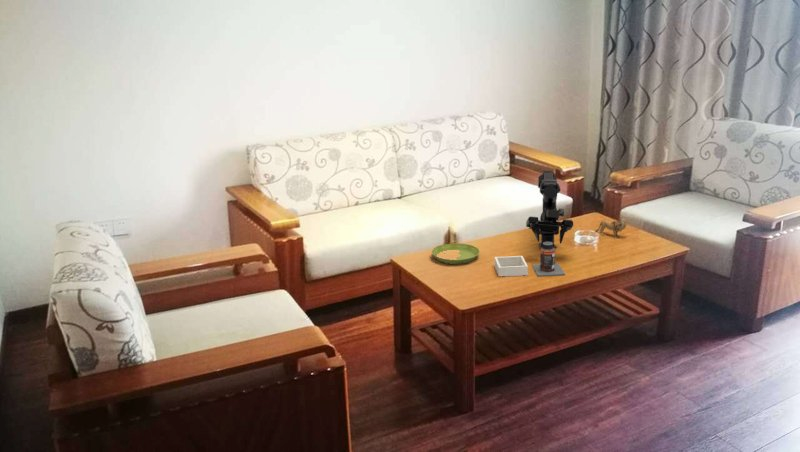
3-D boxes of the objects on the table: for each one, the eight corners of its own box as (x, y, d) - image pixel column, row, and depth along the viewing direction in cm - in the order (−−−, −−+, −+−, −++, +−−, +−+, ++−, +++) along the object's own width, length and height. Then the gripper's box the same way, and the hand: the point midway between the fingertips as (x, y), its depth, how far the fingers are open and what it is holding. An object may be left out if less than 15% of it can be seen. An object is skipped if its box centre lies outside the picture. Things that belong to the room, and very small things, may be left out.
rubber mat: (532, 266, 277) (532, 264, 276) (558, 265, 277) (558, 263, 276) (537, 276, 266) (537, 275, 266) (565, 275, 266) (565, 273, 266)
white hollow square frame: (494, 265, 279) (494, 257, 277) (522, 264, 279) (522, 255, 277) (498, 276, 268) (498, 267, 266) (527, 275, 268) (527, 266, 266)
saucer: (472, 268, 278) (472, 261, 277) (426, 264, 285) (425, 257, 284) (484, 251, 296) (484, 244, 295) (439, 247, 303) (439, 241, 302)
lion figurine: (627, 236, 305) (628, 218, 302) (623, 240, 301) (624, 221, 298) (597, 231, 314) (598, 212, 311) (592, 234, 310) (593, 215, 307)
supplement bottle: (557, 270, 269) (558, 244, 266) (544, 272, 268) (544, 246, 264) (550, 265, 275) (551, 239, 271) (537, 267, 273) (537, 241, 270)
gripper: (531, 198, 275) (531, 233, 269) (576, 202, 275) (577, 237, 269) (526, 209, 285) (525, 243, 279) (569, 212, 285) (569, 246, 279)
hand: (549, 242), depth 277 cm, fingers open, 9 cm apart
